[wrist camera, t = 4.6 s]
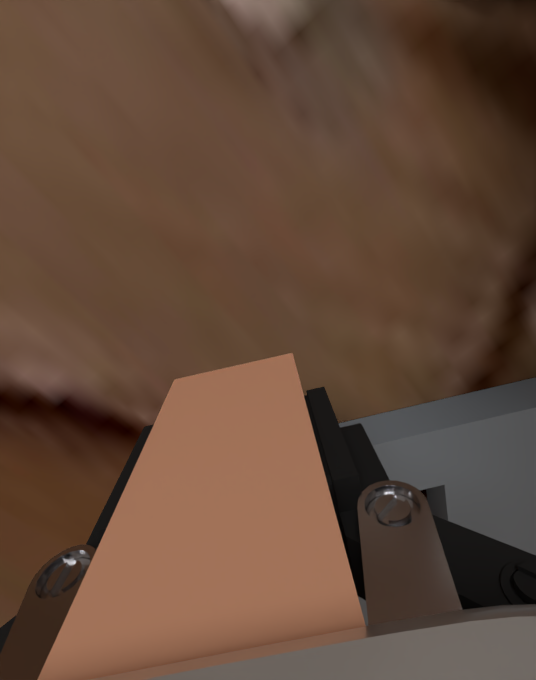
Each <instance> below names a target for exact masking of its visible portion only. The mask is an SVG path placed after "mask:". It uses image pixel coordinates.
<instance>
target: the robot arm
mask: <svg viewBox="0 0 536 680" xmlns="http://www.w3.org/2000/svg"><path fill="white" fill-rule="evenodd" d="M304 398H305V402H306V406H307V409H308V413H309V417H310V420H311V424H312V428H313V432H314V435H315V439H316V443H317V447H318V450H319V454H320V458H321V461H322V465H323V469H324V473H325V476H326V480H327V484H328V487H329V491H330V495H331V499H332V502H333V506H334V510H335V513H336V517H337V521H338V525H339V528H340V532H341V536H342V540H343V543H344V547H345V551H346V554H347V558H348V562H349V566H350V569H351V573H352V577H353V580H354V584H355V588H356V592H357V595H358V597H360V598H362V599H364V600H365V601H366V606H367V616H368V626H364V627H359V628H353V629H348V630H343V631H338V632H332V633H327V634H322V635H316V636H311V637H306V638H301V639H295V640H290V641H285V642H279V643H274V644H269V645H263V646H258V647H253V648H248V649H243V650H237V651H232V652H227V653H222V654H217V655H212V656H207V657H201V658H196V659H191V660H186V661H181V662H176V663H171V664H166V665H161V666H155V667H150V668H145V669H140V670H135V671H130V672H125V673H120V674H115V675H110V676H105V677H100V678H95V679H90V680H536V555H533V554H531V553H528V552H526V551H523V550H521V549H518V548H516V547H513V546H511V545H508V544H506V543H503V542H501V541H498V540H495V539H493V538H490V537H488V536H485V535H483V534H480V533H478V532H475V531H473V530H470V529H468V528H465V527H462V526H460V525H457V524H455V523H452V522H450V521H447V520H445V519H442V518H440V517H437V516H435V515H432V513H431V510H430V507H429V504H428V502H427V500H426V498H425V496H424V494H423V493H421V492H420V491H419V490H418V489H417V488H416V487H414V486H412V485H410V484H408V483H404V482H400V481H391V480H389V478H388V476H387V474H386V472H385V470H384V468H383V466H382V464H381V462H380V460H379V458H378V456H377V454H376V452H375V450H374V448H373V446H372V444H371V442H370V440H369V438H368V436H367V434H366V432H365V430H364V428H363V426H362V424H361V423H358V424H354V425H349V426H344V427H340V426H339V424H338V421H337V419H336V416H335V414H334V411H333V409H332V406H331V403H330V401H329V398H328V396H327V393H326V391H325V388H324V387H321V388H316V389H312V390H307V396H304ZM153 426H154V425H150V426H146V427H144V429H143V431H142V433H141V435H140V437H139V439H138V441H137V443H136V445H135V447H134V449H133V451H132V453H131V455H130V457H129V459H128V461H127V463H126V465H125V467H124V469H123V471H122V473H121V475H120V477H119V479H118V481H117V483H116V485H115V487H114V489H113V491H112V493H111V495H110V497H109V499H108V501H107V503H106V505H105V507H104V509H103V511H102V513H101V515H100V517H99V519H98V521H97V523H96V525H95V527H94V529H93V531H92V534H91V536H90V538H89V540H88V542H87V544H86V545H77V546H73V547H70V548H68V549H66V550H64V551H62V552H60V553H59V554H57V555H56V556H54V557H53V558H51V559H50V560H49V561H48V562H47V563H46V564H45V565H43V566H42V567H41V569H40V570H39V571H38V572H37V573H36V575H35V576H34V578H33V579H32V581H31V583H30V585H29V587H28V589H27V592H26V594H25V596H24V599H23V601H22V604H21V606H20V608H19V611H18V613H17V615H16V616H15V617H14V618H12V619H11V620H10V621H9V622H7V623H6V624H5V625H3V626H2V627H1V628H0V680H37V679H38V677H39V675H40V673H41V671H42V668H43V666H44V664H45V662H46V660H47V658H48V655H49V653H50V651H51V649H52V647H53V644H54V642H55V640H56V638H57V636H58V633H59V631H60V629H61V627H62V625H63V623H64V620H65V618H66V616H67V614H68V612H69V609H70V607H71V605H72V603H73V601H74V598H75V596H76V594H77V592H78V590H79V587H80V585H81V583H82V581H83V579H84V577H85V574H86V572H87V570H88V568H89V566H90V563H91V561H92V559H93V557H94V555H95V552H96V550H97V548H98V546H99V544H100V542H101V539H102V537H103V535H104V533H105V531H106V528H107V526H108V524H109V522H110V520H111V517H112V515H113V513H114V511H115V509H116V507H117V504H118V502H119V500H120V498H121V496H122V493H123V491H124V489H125V487H126V485H127V482H128V480H129V478H130V476H131V474H132V471H133V469H134V467H135V465H136V463H137V461H138V458H139V456H140V454H141V452H142V450H143V447H144V445H145V443H146V441H147V439H148V436H149V434H150V432H151V430H152V428H153Z"/></svg>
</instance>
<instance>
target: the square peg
mask: <svg viewBox="0 0 536 680" xmlns="http://www.w3.org/2000/svg"><path fill="white" fill-rule="evenodd" d="M364 626H366V625H365V621H364V618H363V614H362V610H361V606H360V603H359V599H358V595H357V592H356V588H355V584H354V580H353V577H352V573H351V569H350V566H349V562H348V558H347V554H346V551H345V547H344V543H343V540H342V536H341V532H340V528H339V525H338V521H337V517H336V513H335V510H334V506H333V502H332V499H331V495H330V491H329V487H328V484H327V480H326V476H325V473H324V469H323V465H322V461H321V458H320V454H319V450H318V447H317V443H316V439H315V435H314V432H313V428H312V424H311V420H310V417H309V413H308V409H307V406H306V402H305V398H304V394H303V391H302V387H301V383H300V380H299V376H298V372H297V368H296V365H295V361H294V357H293V354H292V353H290V354H285V355H281V356H276V357H272V358H268V359H263V360H259V361H254V362H250V363H245V364H241V365H237V366H232V367H228V368H223V369H219V370H214V371H210V372H205V373H201V374H197V375H192V376H188V377H183V378H179V379H175V380H174V382H173V384H172V386H171V388H170V390H169V393H168V395H167V397H166V399H165V401H164V404H163V406H162V408H161V410H160V412H159V415H158V417H157V419H156V421H155V423H154V426H153V428H152V430H151V432H150V434H149V436H148V439H147V441H146V443H145V445H144V447H143V450H142V452H141V454H140V456H139V458H138V461H137V463H136V465H135V467H134V469H133V471H132V474H131V476H130V478H129V480H128V482H127V485H126V487H125V489H124V491H123V493H122V496H121V498H120V500H119V502H118V504H117V507H116V509H115V511H114V513H113V515H112V517H111V520H110V522H109V524H108V526H107V528H106V531H105V533H104V535H103V537H102V539H101V542H100V544H99V546H98V548H97V550H96V552H95V555H94V557H93V559H92V561H91V563H90V566H89V568H88V570H87V572H86V574H85V577H84V579H83V581H82V583H81V585H80V587H79V590H78V592H77V594H76V596H75V598H74V601H73V603H72V605H71V607H70V609H69V612H68V614H67V616H66V618H65V620H64V623H63V625H62V627H61V629H60V631H59V633H58V636H57V638H56V640H55V642H54V644H53V647H52V649H51V651H50V653H49V655H48V658H47V660H46V662H45V664H44V666H43V668H42V671H41V673H40V675H39V677H38V679H37V680H90V679H95V678H100V677H105V676H110V675H115V674H120V673H125V672H130V671H135V670H140V669H145V668H150V667H155V666H161V665H166V664H171V663H176V662H181V661H186V660H191V659H196V658H201V657H207V656H212V655H217V654H222V653H227V652H232V651H237V650H243V649H248V648H253V647H258V646H263V645H269V644H274V643H279V642H285V641H290V640H295V639H301V638H306V637H311V636H316V635H322V634H327V633H332V632H338V631H343V630H348V629H353V628H359V627H364Z"/></svg>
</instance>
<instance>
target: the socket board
mask: <svg viewBox="0 0 536 680" xmlns="http://www.w3.org/2000/svg"><path fill="white" fill-rule="evenodd" d="M358 423H361V424H362V426H363V428H364V430H365V432H366V434H367V436H368V438H369V440H370V442H371V444H372V446H373V448H374V450H375V452H376V454H377V456H378V458H379V460H380V462H381V464H382V466H383V468H384V470H385V472H386V474H387V476H388V478H389V480H391V481H400V482H404V483H408V484H410V485H412V486H414V487H416V488H417V489H418V490H424V489H426V492H427V500H428V504H429V507H430V510H431V513H432V515H435V516H437V517H440V518H442V519H445V520H447V521H450V522H452V523H455V524H457V525H460V526H462V527H465V528H468V529H470V530H473V531H475V532H478V533H480V534H483V535H485V536H488V537H490V538H493V539H495V540H498V541H501V542H503V543H506V544H508V545H511V546H513V547H516V548H518V549H521V550H523V551H526V552H528V553H531V554H533V555H536V377H535V378H531V379H527V380H522V381H518V382H514V383H510V384H505V385H501V386H497V387H493V388H488V389H484V390H480V391H475V392H471V393H467V394H463V395H458V396H454V397H450V398H445V399H441V400H437V401H433V402H428V403H424V404H420V405H416V406H411V407H407V408H403V409H398V410H394V411H390V412H386V413H381V414H377V415H373V416H368V417H364V418H360V419H356V420H351V421H347V422H343V423H338V424H339V426H340V427H344V426H349V425H354V424H358ZM358 599H359V603H360V606H361V610H362V614H363V618H364V621H365V625H366V626H368V616H367V606H366V601H365V600H364V599H362V598H360V597H358Z"/></svg>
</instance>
